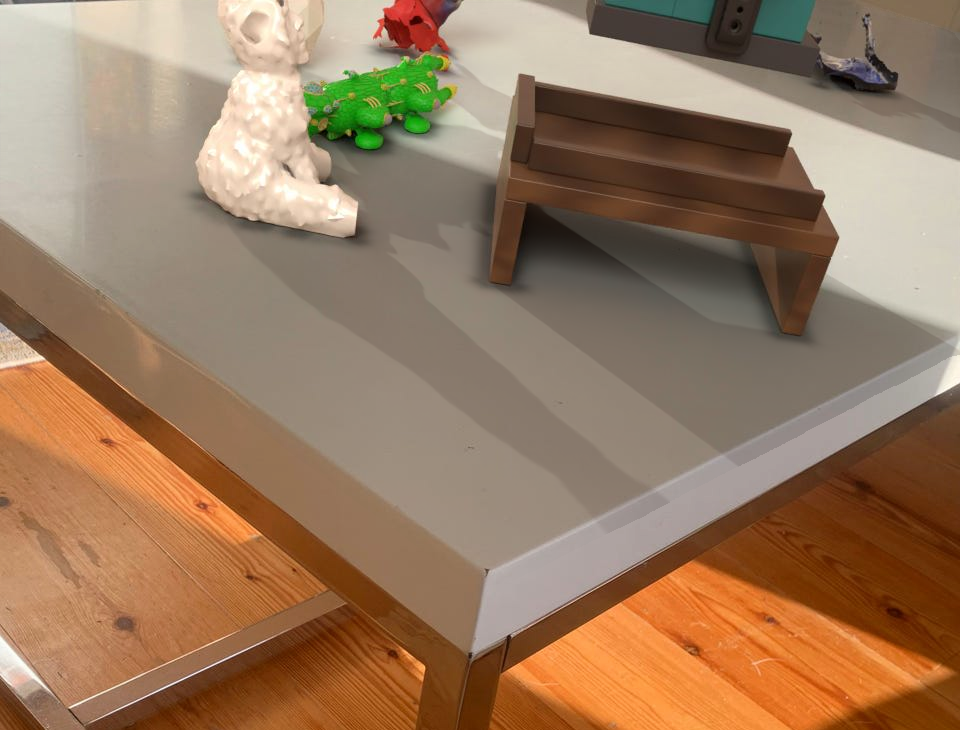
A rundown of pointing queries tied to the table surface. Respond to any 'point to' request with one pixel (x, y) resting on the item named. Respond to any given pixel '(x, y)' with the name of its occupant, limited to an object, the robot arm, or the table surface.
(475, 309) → the table surface
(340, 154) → the table surface
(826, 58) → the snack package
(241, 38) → the white creature statuette
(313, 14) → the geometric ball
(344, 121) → the crocodile figurine
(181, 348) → the table surface
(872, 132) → the table surface
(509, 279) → the shoe shelf
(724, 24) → the robot arm
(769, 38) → the teal stepped block
